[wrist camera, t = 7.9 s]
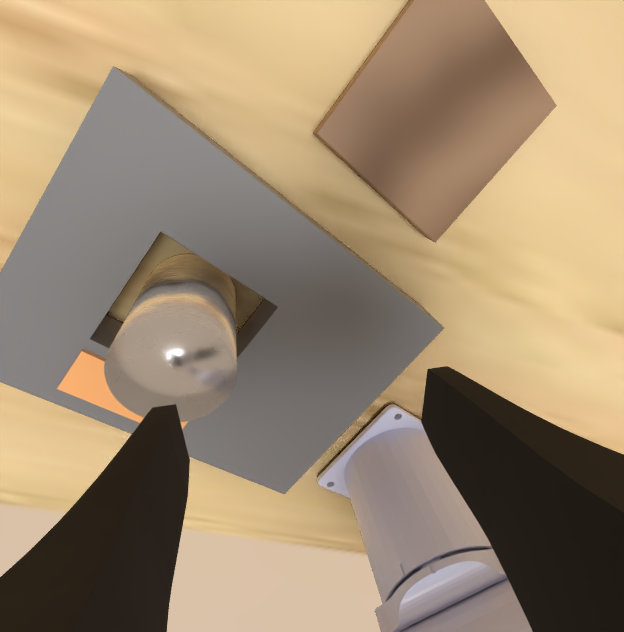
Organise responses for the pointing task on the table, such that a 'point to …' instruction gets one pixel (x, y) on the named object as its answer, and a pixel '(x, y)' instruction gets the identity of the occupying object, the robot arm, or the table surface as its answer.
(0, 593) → the robot arm
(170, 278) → the steel peg
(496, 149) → the tab
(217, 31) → the table surface
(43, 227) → the hole plate
